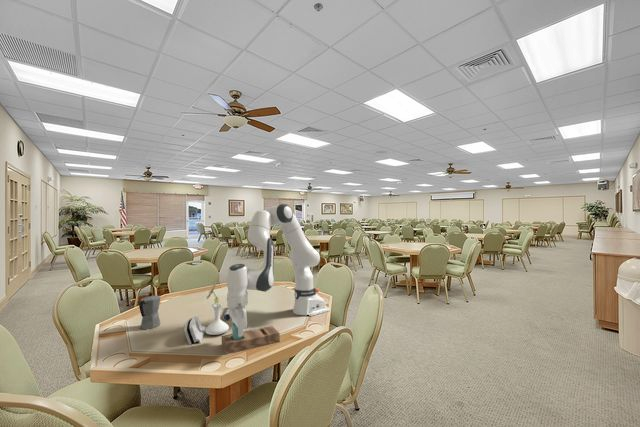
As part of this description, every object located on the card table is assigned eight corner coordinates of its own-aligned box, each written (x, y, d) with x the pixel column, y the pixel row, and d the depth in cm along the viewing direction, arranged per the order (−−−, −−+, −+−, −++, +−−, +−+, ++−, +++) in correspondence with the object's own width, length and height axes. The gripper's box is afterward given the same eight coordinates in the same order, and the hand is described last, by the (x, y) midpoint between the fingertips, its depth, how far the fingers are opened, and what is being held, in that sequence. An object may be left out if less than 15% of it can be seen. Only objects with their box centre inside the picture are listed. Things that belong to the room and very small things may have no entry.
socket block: (272, 334, 137) (272, 325, 137) (279, 341, 128) (279, 333, 128) (221, 344, 125) (221, 336, 125) (225, 354, 117) (225, 344, 117)
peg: (240, 343, 126) (240, 321, 127) (242, 347, 123) (242, 324, 123) (232, 345, 125) (232, 323, 125) (234, 349, 121) (234, 326, 122)
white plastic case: (200, 343, 127) (192, 323, 127) (190, 348, 126) (181, 328, 125) (206, 329, 143) (199, 311, 143) (197, 333, 142) (189, 315, 142)
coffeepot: (149, 321, 155) (149, 289, 155) (166, 321, 155) (166, 289, 155) (130, 333, 139) (130, 297, 140) (149, 333, 139) (149, 297, 140)
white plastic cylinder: (222, 314, 156) (231, 295, 180) (222, 325, 156) (231, 305, 181) (231, 313, 156) (239, 295, 181) (231, 324, 157) (239, 305, 182)
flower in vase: (210, 328, 145) (210, 280, 146) (232, 328, 145) (232, 280, 145) (199, 338, 132) (199, 286, 133) (222, 338, 132) (222, 286, 132)
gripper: (250, 306, 117) (250, 339, 116) (239, 294, 135) (239, 323, 134) (235, 308, 114) (235, 342, 113) (226, 296, 132) (226, 326, 131)
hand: (237, 332), depth 124 cm, fingers open, 8 cm apart
